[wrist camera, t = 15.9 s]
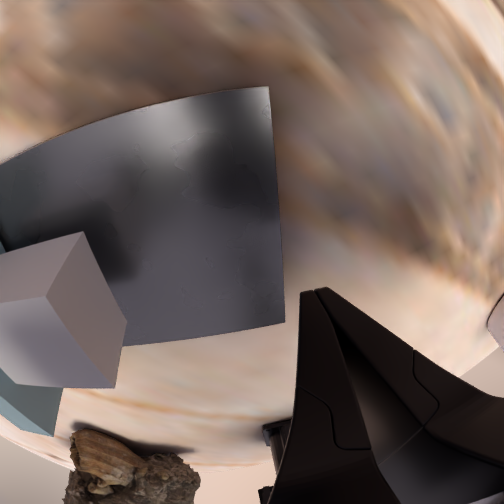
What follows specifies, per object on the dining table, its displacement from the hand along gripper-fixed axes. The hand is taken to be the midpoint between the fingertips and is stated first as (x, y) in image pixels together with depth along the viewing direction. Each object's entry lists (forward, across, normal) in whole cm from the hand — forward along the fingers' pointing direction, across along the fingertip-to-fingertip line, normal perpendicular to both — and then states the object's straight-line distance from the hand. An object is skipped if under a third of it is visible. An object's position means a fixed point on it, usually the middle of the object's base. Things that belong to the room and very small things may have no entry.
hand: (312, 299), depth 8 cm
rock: (+4, +20, +25) cm, 32 cm away
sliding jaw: (+3, +11, -1) cm, 11 cm away
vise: (+4, +13, -1) cm, 14 cm away
